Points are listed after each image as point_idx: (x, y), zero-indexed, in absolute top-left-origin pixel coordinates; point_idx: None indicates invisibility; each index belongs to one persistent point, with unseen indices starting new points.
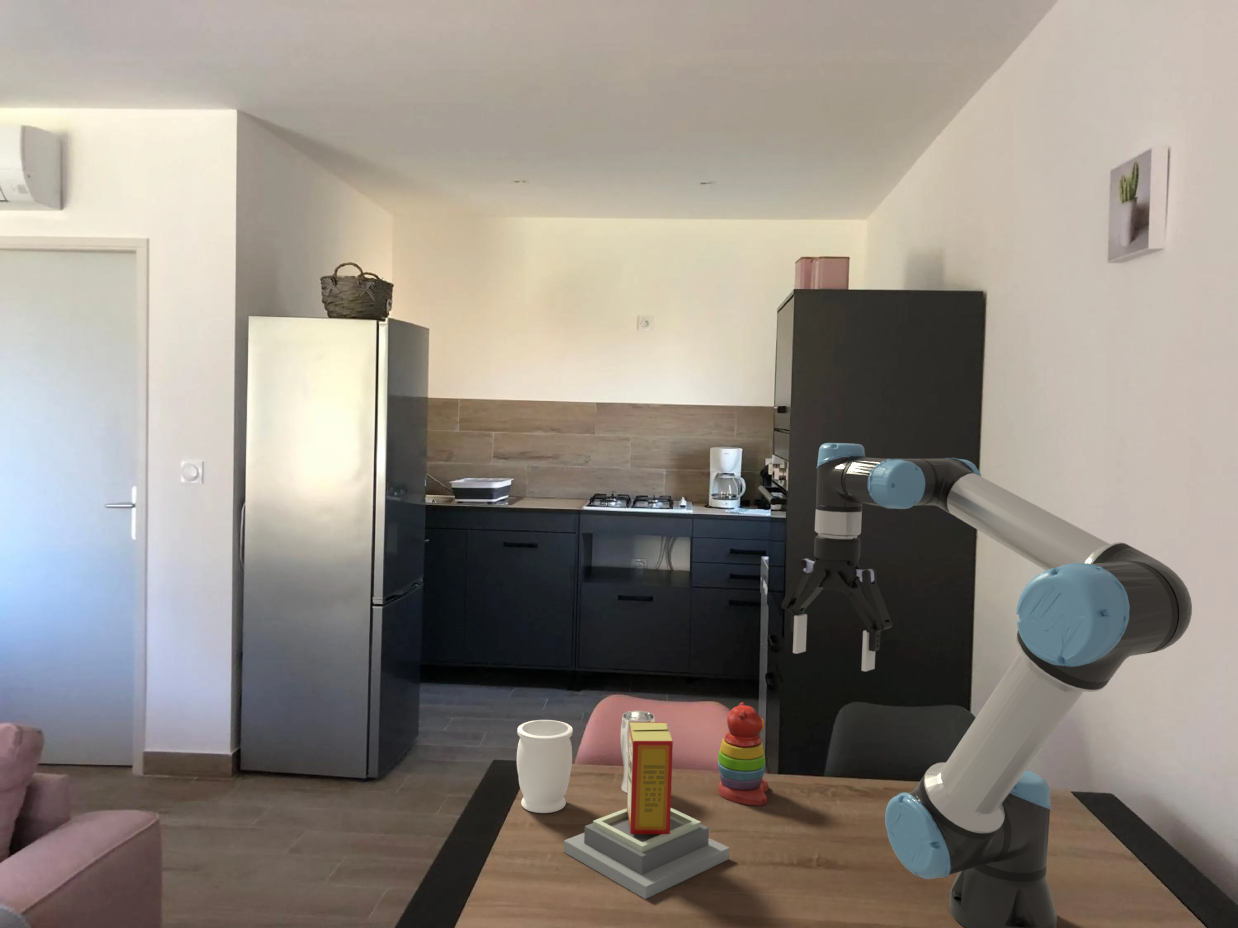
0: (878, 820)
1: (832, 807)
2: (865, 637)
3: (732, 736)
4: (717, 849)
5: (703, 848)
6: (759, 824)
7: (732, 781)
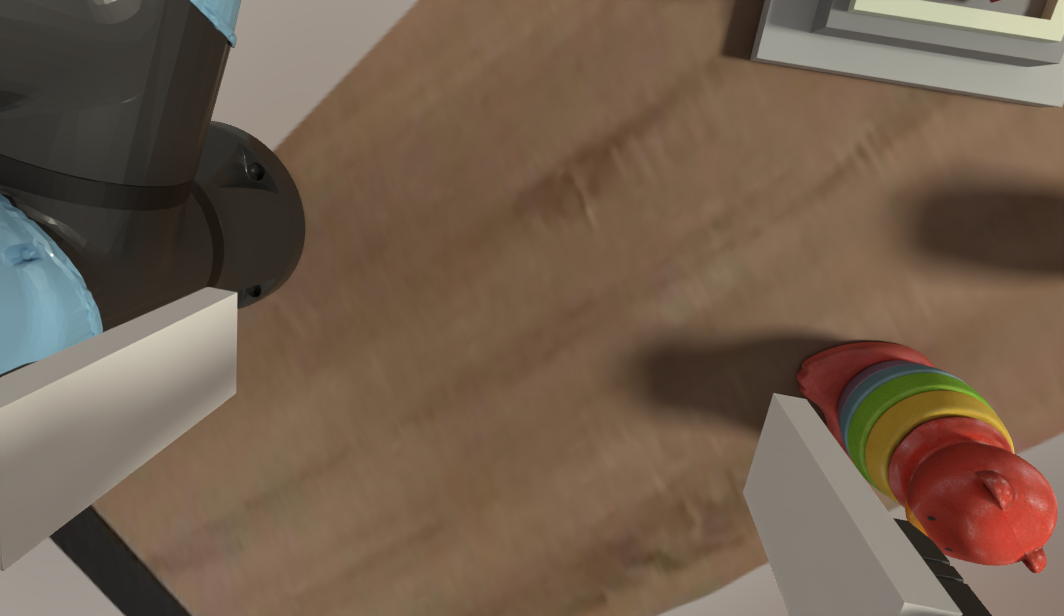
0: (552, 450)
1: (658, 451)
2: (16, 383)
3: (983, 442)
4: (777, 26)
5: (812, 5)
6: (764, 271)
7: (902, 363)
